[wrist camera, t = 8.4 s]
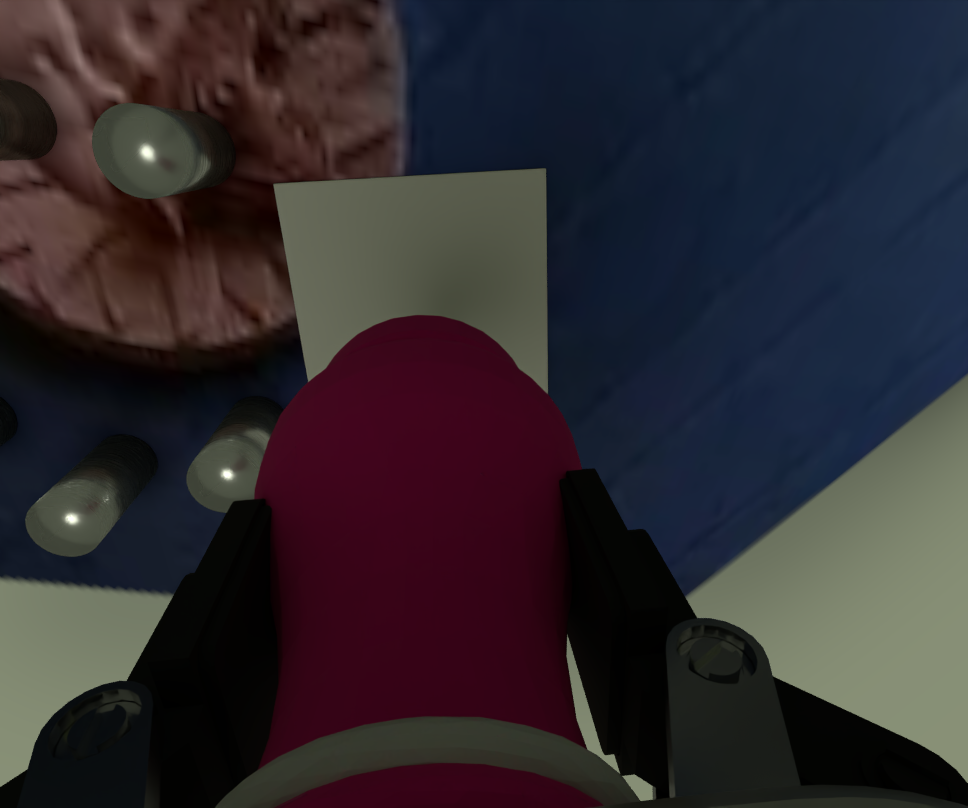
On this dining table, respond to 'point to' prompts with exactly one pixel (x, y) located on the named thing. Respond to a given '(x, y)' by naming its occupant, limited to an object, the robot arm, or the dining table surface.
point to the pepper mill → (422, 585)
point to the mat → (419, 258)
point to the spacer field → (122, 458)
